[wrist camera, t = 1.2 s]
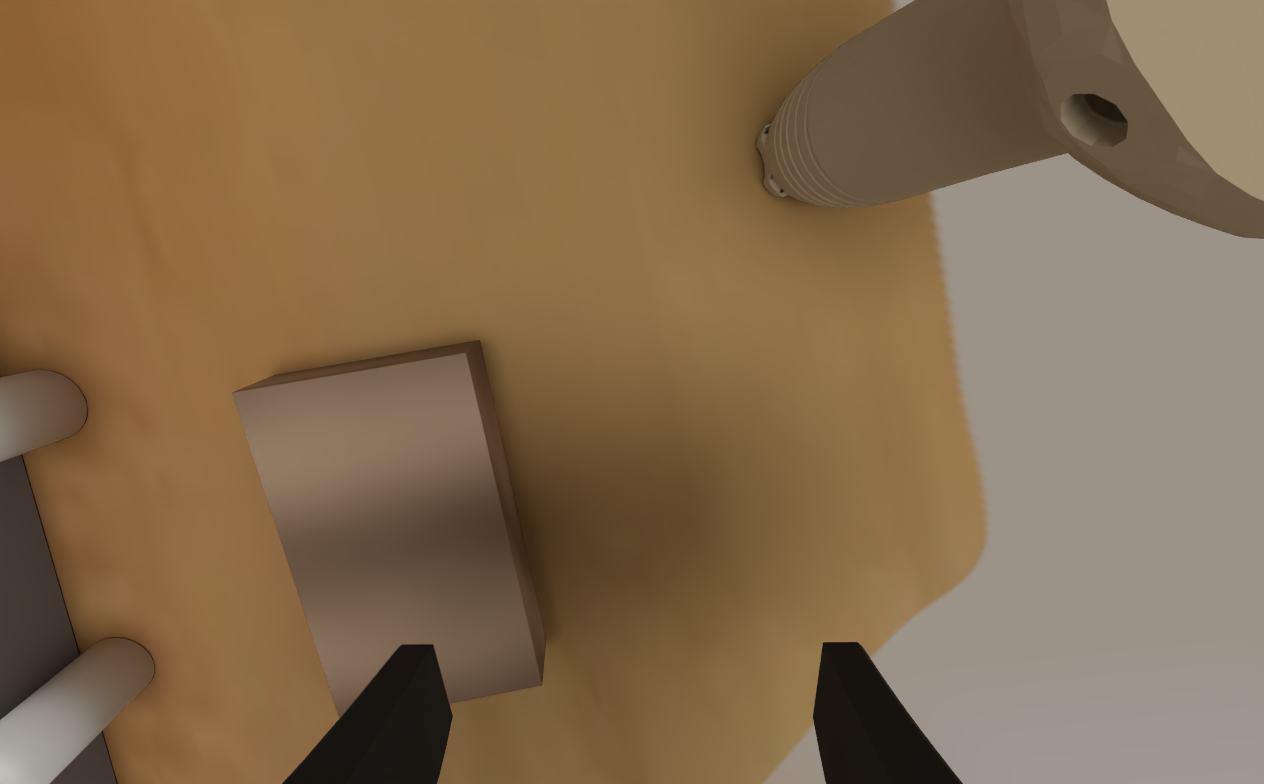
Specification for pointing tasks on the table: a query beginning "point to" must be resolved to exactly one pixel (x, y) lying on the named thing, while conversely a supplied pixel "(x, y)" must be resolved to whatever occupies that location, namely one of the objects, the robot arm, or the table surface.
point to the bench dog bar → (49, 615)
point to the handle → (1036, 104)
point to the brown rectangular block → (399, 518)
